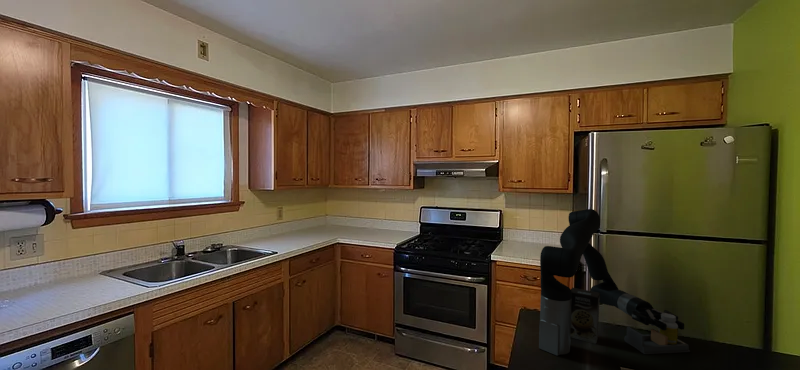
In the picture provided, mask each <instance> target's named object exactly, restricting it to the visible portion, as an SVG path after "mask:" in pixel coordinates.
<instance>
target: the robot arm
mask: <svg viewBox="0 0 800 370" xmlns="http://www.w3.org/2000/svg"><path fill="white" fill-rule="evenodd" d="M568 224H569V225H567V227H566V228H564V230H563V231H562V232H561V234H560V235H559V236H560V237H559V243H560V246H561V247H559V246H551V245H545V246H544V247H543V248H542V249H541V252H540V256H539V257H540V259H539V261H540V262H539V264H540V265H539V266H540V267H539V269H540V305H539V307H540V308H539V309H540V311H539V312H540V313H539V329H538V330H539V334H538V348H539V349H540V350H542V351H544V352H547V353H550V354H553V355H555V356H560V355H568V354H569V353H570V352H571V337H570V335H571V304H572V291H571V289H572V288H570V287H569V286H567V285H566V284H564V283H562V282H560V281H559V280H558V279H557V278H556V277H561V278H567V279H568V278H573V277H574V276H575V275H576V274H577V271H578V268H579V266H580V263H581V259H582V256H583V258H584V260H585V264H586V266H587V270H588V273H589V276H590V278H591V279H592V280H594V281H602V282H600V283H597V284H595V285H593V286H592V287H591V288H590V290H589V291H593V292H599V293H600V301H599V304H602V305H606V306H610V307H611V306H612V307H615V308H617V309H618V310H620V311H621V312H623V313H624V314H626V315H628V316H629V317H631V319H632V320H634V321H637V322H638V323H641V324H643V325H646V326H649V325H650V326H653V327H657V329H658V328H660V329H662V330H666V329H667V325H666V324H665V323H663V322H661V321H660V319H661V314H662V313H668V314H672V315H674V316H676V322H675V323H677V325H678V330H685V323H684V322H682V321H680V320H679V316H678V315H676V314H675V313H672V312H671V311H669V310H666V309H664V310H663V311H660V310H658V309H655V308H654V307H653V306H652V304H651V303H650V302H649V301H647V300H645V299H642V298H640V297H639V296H637V295H636V296H635V294H634V295H633V294H631V293H629V292H626V291H624V290H621V289H619V287H618V285H617V284H616V282H615V281H614V280H613V278H612V276H611V275H610V273H609V271H608V267H607V264H606V261H605V258H604V256H603V255H602V253H601V252H600V251H598V250H597V249H596V248H595V247H594V246H593V245H592V244H591V243H590V241H591V239H592V238H593V236H594V235H595V234H596V232H598V231H599V229H600V226H601V216H600V214H599V213H598V211H596V210H595V209H594V208H586V209H580V210H574V211H573V210H572V211H570V212H569V214H568ZM555 276H556V277H555Z"/></svg>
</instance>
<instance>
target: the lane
mask: <svg viewBox="0 0 800 370" xmlns="http://www.w3.org/2000/svg"><path fill="white" fill-rule="evenodd" d="M623 341H624V342H625V343H627V344H628V345H629V346H631V347H633V348H634V349H635V350H638V351H639V352H641V353H642V354H644V355H655V354H673V353H690V352H691V350H690V347H689V346H690V345H689V344H688V343H686V342H684V341H682V340H681V339H678V338H677V344H676V345H658V344H656V343H655V342H653V341H651V333H649V334H642V333H640V332H639V331H638V330H637V329H634V328H633V327H630V326H626V335H624V339H623Z"/></svg>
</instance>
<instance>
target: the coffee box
mask: <svg viewBox="0 0 800 370" xmlns="http://www.w3.org/2000/svg"><path fill="white" fill-rule="evenodd" d="M570 289H571V291H572V304H571V335H570V339H571V338H572V339H576V340H580V341H582V342H587V343H590V344H597V342H598V338H599V316H600V315H599V314H600V303H599V301H600V293H599V292H593V291H590V290H587V289H583V288H579V287H577V288H576V287H571V288H570Z"/></svg>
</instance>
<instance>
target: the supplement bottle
mask: <svg viewBox="0 0 800 370" xmlns="http://www.w3.org/2000/svg"><path fill="white" fill-rule="evenodd" d="M674 315H675V314H674ZM674 315H672V314H668V313H662V314H661V319H660V321H661V322H663V323H665V324H666V325H667V329H666V330H662V329H660V328H658V327H657V330H656V331H658V332H660V333H661V334H663V335H665V336H667V337H668V345H676V344H677V339H678V338H679V337H678V334H679V328H678V325H677V323H675V322H676V316H677V315H676V316H674Z"/></svg>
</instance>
